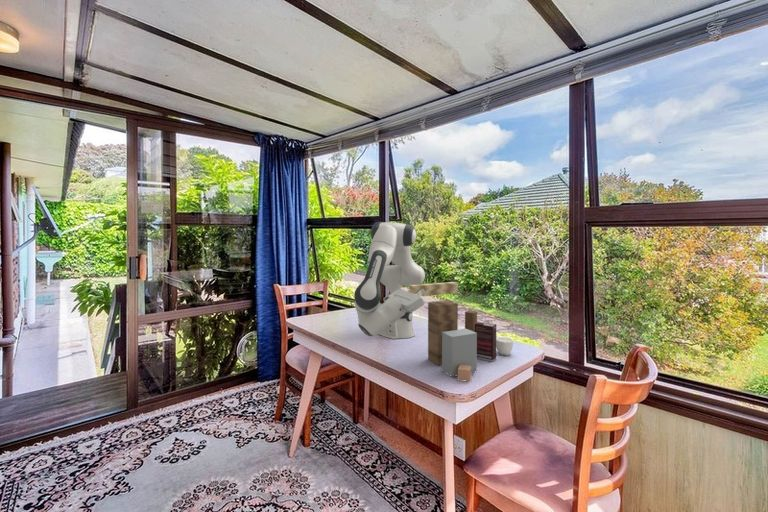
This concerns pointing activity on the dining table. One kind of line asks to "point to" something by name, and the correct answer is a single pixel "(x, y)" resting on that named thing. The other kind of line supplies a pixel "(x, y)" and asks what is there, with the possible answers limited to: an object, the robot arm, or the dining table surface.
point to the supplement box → (486, 341)
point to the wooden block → (470, 320)
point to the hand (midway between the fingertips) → (420, 289)
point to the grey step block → (459, 350)
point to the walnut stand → (440, 326)
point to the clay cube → (464, 372)
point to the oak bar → (435, 288)
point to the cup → (504, 345)
